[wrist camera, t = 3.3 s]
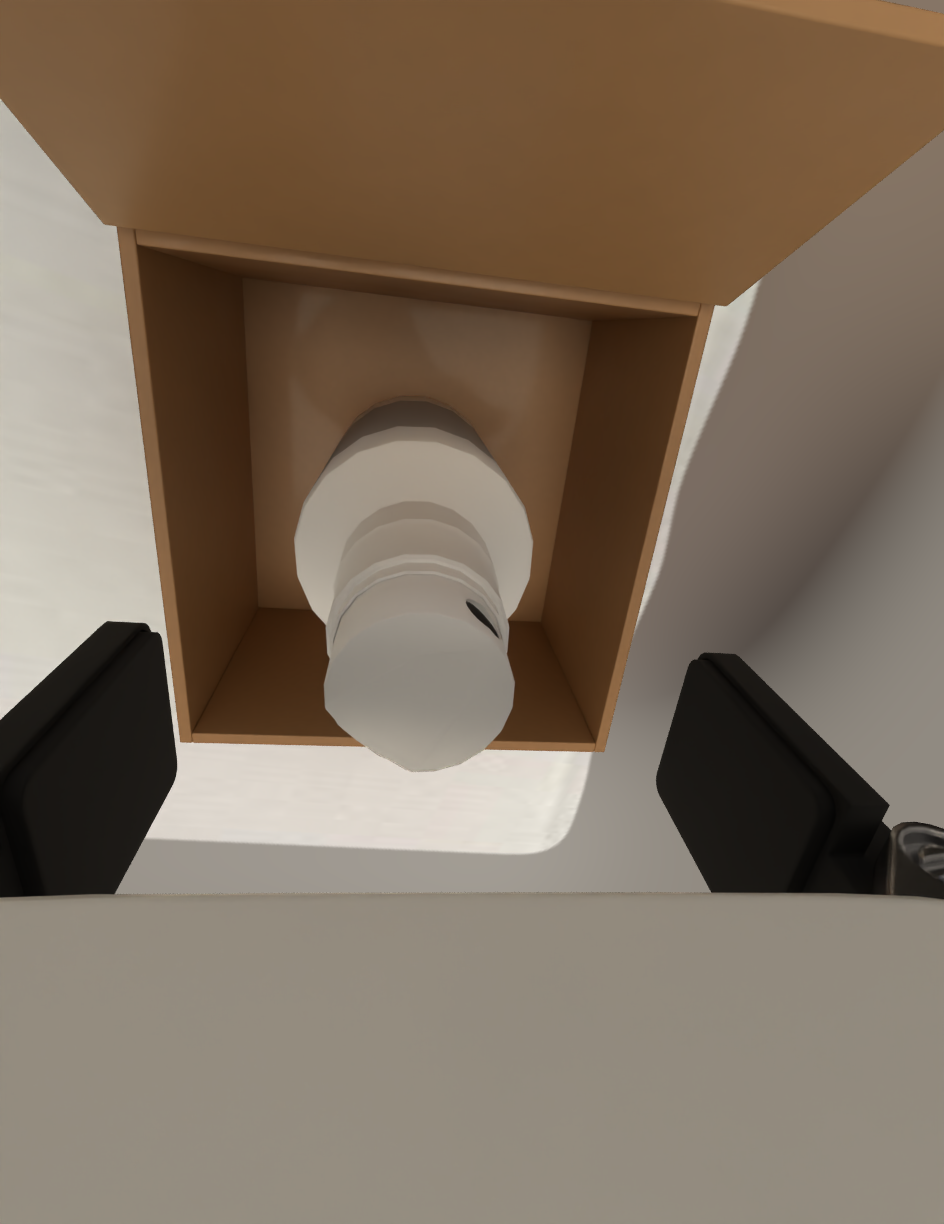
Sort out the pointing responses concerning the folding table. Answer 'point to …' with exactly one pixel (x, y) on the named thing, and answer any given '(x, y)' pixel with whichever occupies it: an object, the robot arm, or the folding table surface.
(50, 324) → the folding table surface
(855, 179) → the flap
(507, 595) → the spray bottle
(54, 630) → the folding table surface
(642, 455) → the carton
